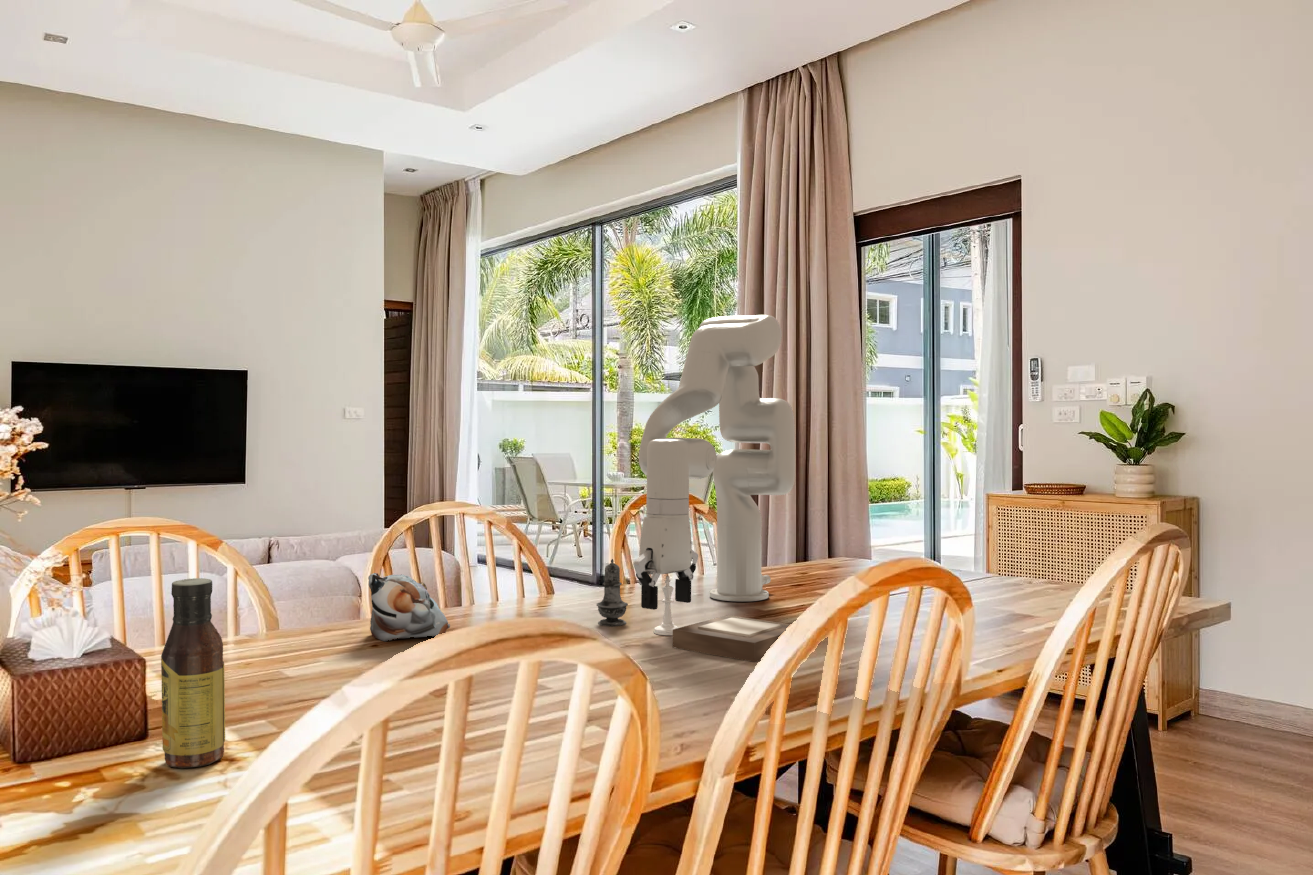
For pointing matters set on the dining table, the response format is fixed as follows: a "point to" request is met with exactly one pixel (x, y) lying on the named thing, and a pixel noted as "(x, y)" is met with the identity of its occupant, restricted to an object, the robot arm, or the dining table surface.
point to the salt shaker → (612, 598)
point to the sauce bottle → (193, 680)
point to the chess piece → (666, 612)
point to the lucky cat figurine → (403, 609)
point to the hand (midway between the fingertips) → (666, 605)
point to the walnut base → (729, 637)
